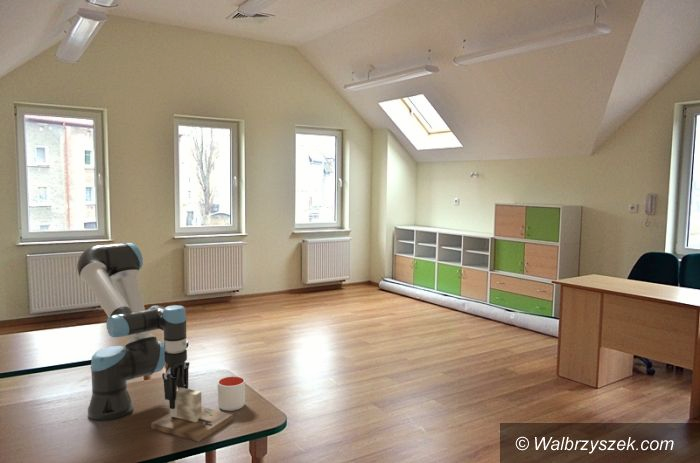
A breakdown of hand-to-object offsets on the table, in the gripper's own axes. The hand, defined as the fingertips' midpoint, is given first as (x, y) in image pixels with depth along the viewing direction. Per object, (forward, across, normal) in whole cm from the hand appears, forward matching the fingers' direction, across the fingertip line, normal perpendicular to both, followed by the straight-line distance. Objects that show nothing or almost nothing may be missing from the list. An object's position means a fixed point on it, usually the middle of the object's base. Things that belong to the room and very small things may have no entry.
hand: (177, 413), depth 192 cm
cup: (+3, +17, -12) cm, 21 cm away
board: (+3, 0, -6) cm, 7 cm away
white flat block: (+1, -1, -6) cm, 7 cm away
